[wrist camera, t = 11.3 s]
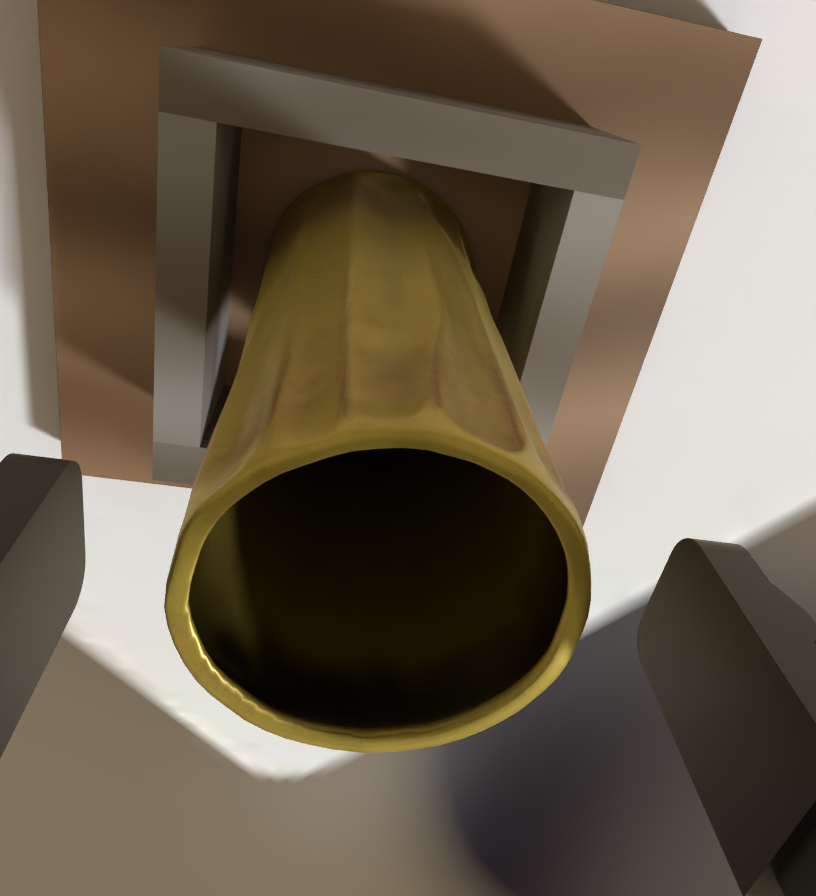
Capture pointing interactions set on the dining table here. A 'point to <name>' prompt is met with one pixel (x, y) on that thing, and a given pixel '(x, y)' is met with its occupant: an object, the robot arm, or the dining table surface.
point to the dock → (367, 150)
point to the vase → (376, 494)
